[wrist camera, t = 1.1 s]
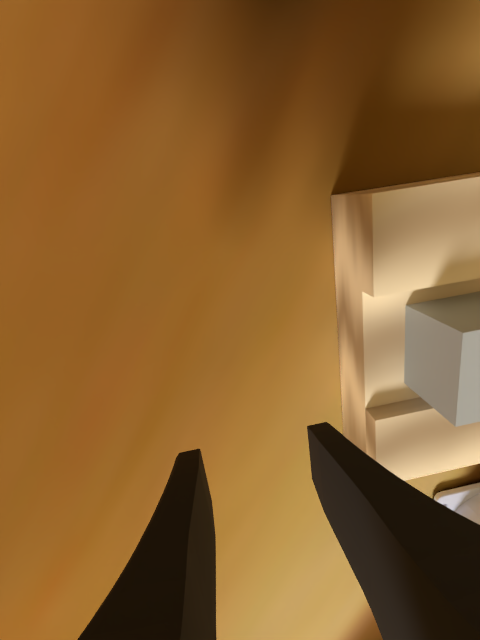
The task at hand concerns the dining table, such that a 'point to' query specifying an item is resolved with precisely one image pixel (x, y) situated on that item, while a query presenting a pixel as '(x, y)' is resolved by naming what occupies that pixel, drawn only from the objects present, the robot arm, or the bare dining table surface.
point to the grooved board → (401, 313)
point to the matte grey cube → (445, 355)
